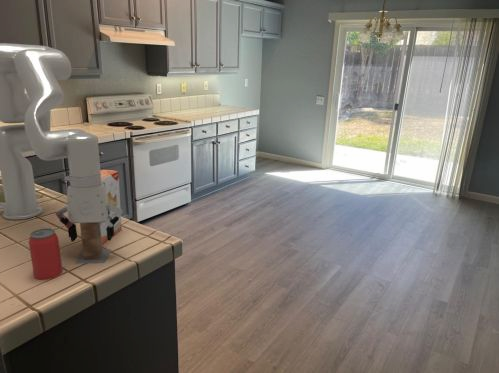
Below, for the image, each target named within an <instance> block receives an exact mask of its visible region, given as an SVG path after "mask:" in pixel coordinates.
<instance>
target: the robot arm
mask: <svg viewBox="0 0 499 373" xmlns="http://www.w3.org/2000/svg"><path fill="white" fill-rule="evenodd" d="M71 75H72V65H71V61H70V59H69V58H68V56H67V54H65V53H64V52H63V51H62V50H60V49H56V48H53V47H50V46H46V45H40V44H39V45H38V44H21V43H6V42H2V43H1V42H0V122H1V123H3V124H8V125H1V126H0V175H1V177H0V178H1V182H2V189H3V194H4V200H5V201H4V202H0V210H3V211H2V217H3V218H4V219H6V220H11V221H12V220H14V221H17V220H19V221H20V220H25V219H32V218H34V217H37V216H39V215H41V214H42V213H43V212H44V208H43V206H41V205H40V204H38V198H37V190H36V187H35V186H36V185H35V179H34V178H35V177H34V173H33V172H34V171H33V170H34V169H33V166H32V163H31V162H30V160H29V159H28V158H26V157H25V156H24V155H23V153H29V152H34V154H35V155H36V156H37V157H38V158H39V159H40V160H43V161H46V162H48V161H55V160H60V159H61V160H62V159H67V160H68V161H67V162H68V169H69V174H68V175H66V176H64V182H69V185H68V186H67V191H66V192H67V193H66V194H67V195H66V206H64V207H62V208H61V209H58V210H56V211H55V216H56V217H57V219H58V220H59V222H61V224H63V225H64V226H65V228H66V229H67V232H68V238H70V242H71V243H73V242H75V241H76V239H77V238H78V231H77V225H76V224H80V223H100V222H105V223H106V224H107V225H108V226H107V239H108V241H109V242H110V241H111V240H112V238H113V237H114V236H115V235H114V224H115V223H116V222H117V221H118V220H119V218H120V216H121V217H122V214H123V209H122V208H120V209H119V208H117V207H115V206H113V205H110V204H109V201H108V196H107V192H106V188H105V185H104V183H102V182H101V162H100V150H99V141H98V137H97V136H96V135H95V134H93V133H91V132H90V133H89V132H86V131H85V130H83V129H82V128H70V129H58V130H51V110H54V109H56V108H57V107H58V106H60V105H61V104H62V103H63V101H64V98H65V95H64V92H63V90H62V88H61V86H60V83H59V82H58V81H65V80H68V79H69V78H71ZM110 211H112V212H114V213H116V216H115V217H114V218H111V217H110V216H109V215H110ZM66 213H67V217H66V216H65V215H64V214H66ZM108 241H107V242H108Z"/></svg>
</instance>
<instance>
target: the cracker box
mask: <svg viewBox="0 0 499 373" xmlns="http://www.w3.org/2000/svg"><path fill="white" fill-rule="evenodd" d="M100 171H101V182H102V183H104V185H105V188H106V192H107V196H108V201H109V204H110V205H113V206H115V207H117V208H119V209H121V193H120V192H121V190H120V176H119V171H118V170H111V169H100ZM109 216H110V217H111V218H114V217H115V216H116V213H114V212H112V211H110V215H109ZM107 226H108V225H107V224H106V223H105V222H100V229H101V240H102V246H103V245H104V244H105V243H107V242H108V239H107ZM79 228H80V230H81V225H80V224H79ZM122 229H123V228H122V215H121V216H120V218H119V220H118V221H117V222H116V223H115V224H114V236H115V235H117V234H118V233H120V231H122ZM80 238H81V241H82V234H81V233H80ZM81 246H82V247H83V244H82V243H81Z"/></svg>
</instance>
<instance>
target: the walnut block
mask: <svg viewBox="0 0 499 373" xmlns="http://www.w3.org/2000/svg"><path fill="white" fill-rule="evenodd" d="M80 225H81V229H80V235H81V234H82V240H81V245H82V244H83V246H82V251H83V253H84V260H95V259H100V257H101V255H102V253H103V251H102V249H103V245H102V240H101V229H100V223H79V226H80Z"/></svg>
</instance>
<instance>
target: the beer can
mask: <svg viewBox="0 0 499 373" xmlns="http://www.w3.org/2000/svg"><path fill="white" fill-rule="evenodd" d="M28 247H29V252H30V260H31V265H32V271H33V272H32V273H33V276H34V278H35V279H37V280H40V281H41V280H42V281H44V280H45V281H46V280H51V279H54V278H56V277H58V276H60V275H61V274H62V272H63V266H62V258H61V249H60V243H59V237H58V235H57V234H56V230H55V229H53V228H46V227H45V228H40V229H36V230H33V231H32V232H31V233H30V234H29V240H28Z"/></svg>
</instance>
